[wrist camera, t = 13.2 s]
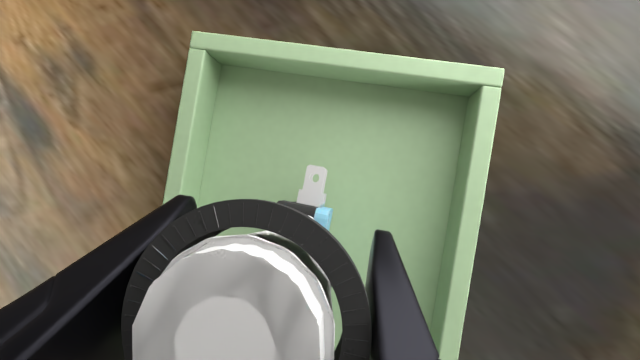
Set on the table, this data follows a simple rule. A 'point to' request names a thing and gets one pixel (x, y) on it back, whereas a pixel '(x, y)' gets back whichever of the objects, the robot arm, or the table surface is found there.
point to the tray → (347, 152)
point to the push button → (247, 286)
